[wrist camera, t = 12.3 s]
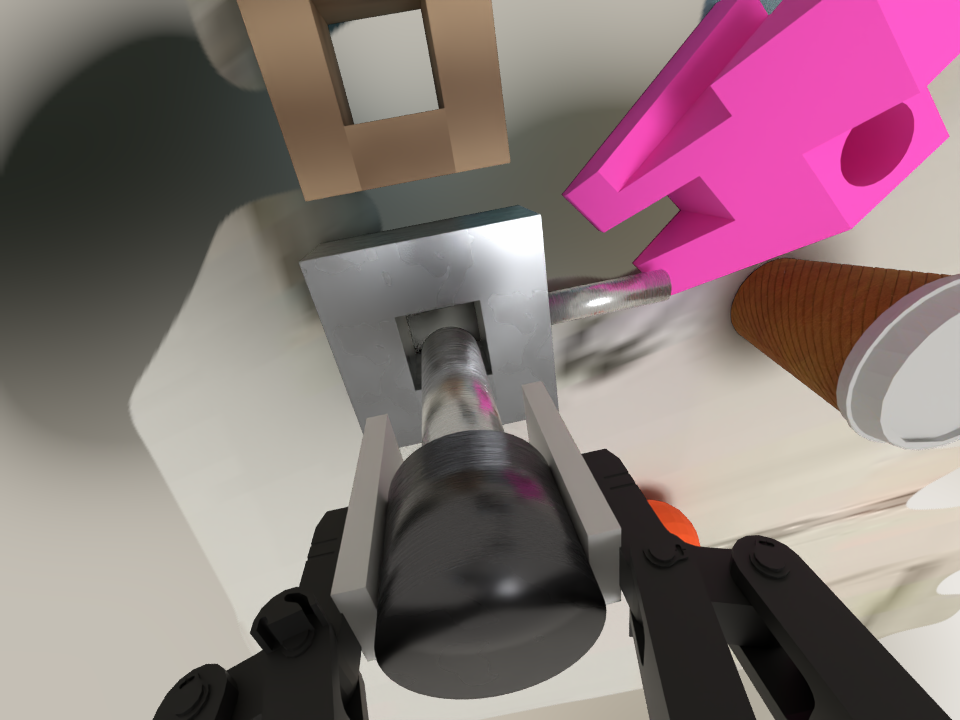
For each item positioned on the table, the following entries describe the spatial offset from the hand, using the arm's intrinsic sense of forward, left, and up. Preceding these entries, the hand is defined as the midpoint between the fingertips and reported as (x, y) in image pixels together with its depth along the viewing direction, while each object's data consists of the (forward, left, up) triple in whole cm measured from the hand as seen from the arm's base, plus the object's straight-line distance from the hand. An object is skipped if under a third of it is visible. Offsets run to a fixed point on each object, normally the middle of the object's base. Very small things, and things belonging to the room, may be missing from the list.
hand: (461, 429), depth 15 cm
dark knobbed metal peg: (0, 0, -7) cm, 7 cm away
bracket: (-6, +16, -13) cm, 22 cm away
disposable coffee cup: (+4, +24, -13) cm, 28 cm away
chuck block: (0, 0, -13) cm, 13 cm away
